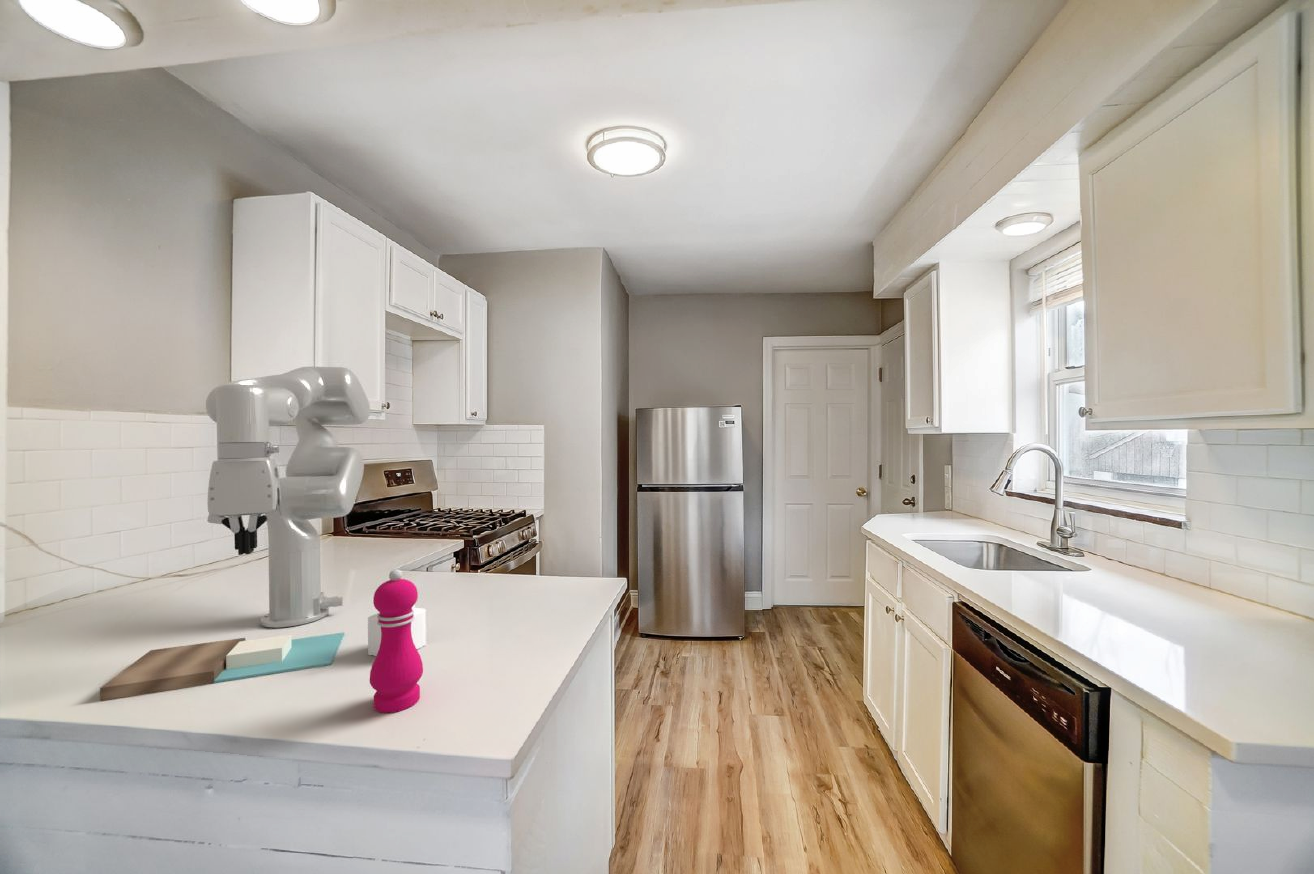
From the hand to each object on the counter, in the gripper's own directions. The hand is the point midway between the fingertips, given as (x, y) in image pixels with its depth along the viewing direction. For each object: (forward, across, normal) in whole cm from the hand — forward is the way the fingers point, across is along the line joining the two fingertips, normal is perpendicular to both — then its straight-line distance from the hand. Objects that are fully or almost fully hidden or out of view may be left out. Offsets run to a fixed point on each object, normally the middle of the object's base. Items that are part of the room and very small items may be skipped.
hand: (246, 552), depth 96 cm
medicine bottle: (+20, -25, +9) cm, 33 cm away
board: (+19, +9, +2) cm, 21 cm away
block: (+18, -2, +2) cm, 18 cm away
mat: (+19, -6, +2) cm, 20 cm away
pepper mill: (+19, -25, +31) cm, 44 cm away
